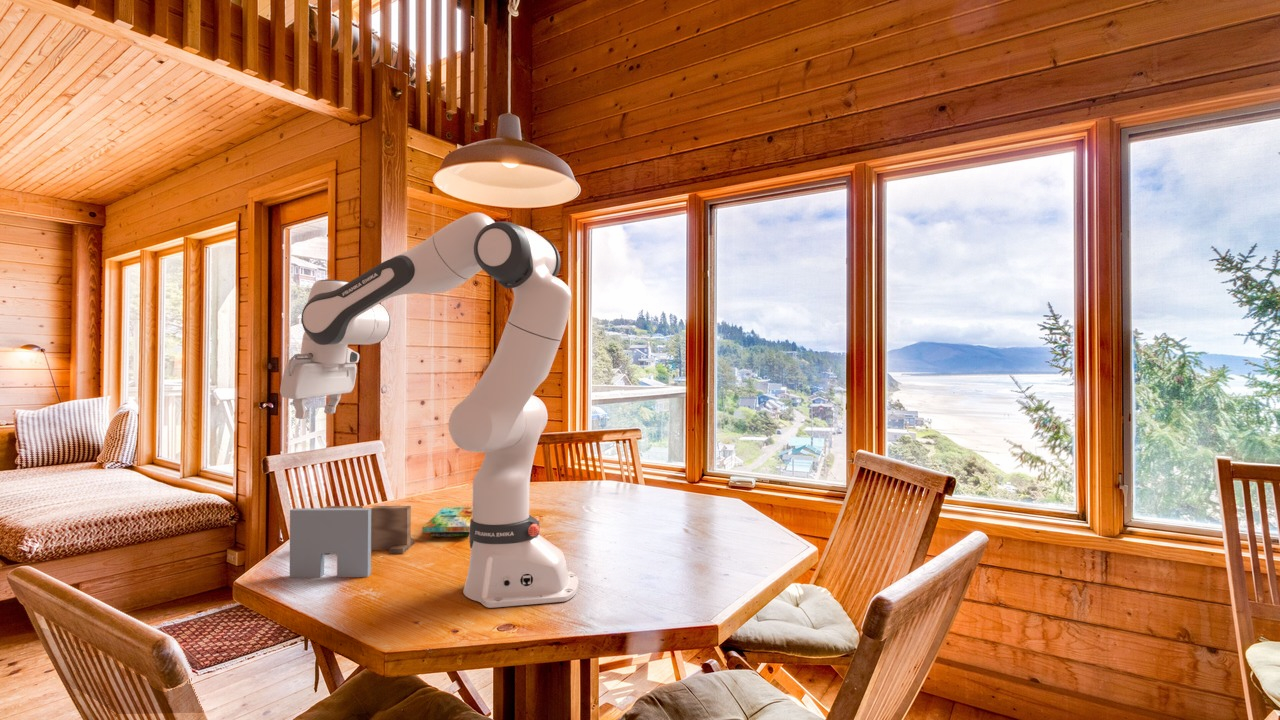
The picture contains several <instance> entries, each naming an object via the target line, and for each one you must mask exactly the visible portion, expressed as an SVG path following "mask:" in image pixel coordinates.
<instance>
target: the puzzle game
mask: <svg viewBox="0 0 1280 720" xmlns="http://www.w3.org/2000/svg"><path fill="white" fill-rule="evenodd" d="M472 513H473V506H463V507H462V506H450V507H449V506H444V507H442V508H441V509H440V510H439V511H438V512H437V513H436V514H435V515H434V516H433V517H432V518H431V519H430V520H428V521H427V523H426V524H424V525H423V526H422V532H423V533H428V534H429V535H430V536H431V537H432V536H437V537H469V527H470V520H471V519H472Z"/></svg>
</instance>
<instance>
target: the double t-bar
mask: <svg viewBox="0 0 1280 720" xmlns="http://www.w3.org/2000/svg"><path fill="white" fill-rule="evenodd" d="M323 508H364V506H363V505H326V506H324V507H323ZM370 508H371V551H389V555H403V554H404V553H406V552H407V551H408V550H409V549H410V548H411V547H413V546H414V545H415V538H412V537H411V536H412V535H411V532H412V531H411V526H412V524H411V523H412V522H411V521H412V518H411V517H412V515H411V513H412V512H411V511H412V510H411V509H412V506H411V505H374V506H372V507H370ZM406 550H407V551H406ZM324 555H330V554H329V553H324Z"/></svg>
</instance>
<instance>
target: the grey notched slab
mask: <svg viewBox="0 0 1280 720" xmlns="http://www.w3.org/2000/svg"><path fill="white" fill-rule="evenodd" d="M371 508H372V507H368V508H367V507H363V508H324V507H321V508H320V507H319V508H316V507H315V508H314V507H313V508H310V507H309V508H305V507H304V508H302V507H301V508H299V507H298V508H296V507H295V508H292V509H290V510H289V578H290V579H292V578H297V579H298V578H300V579H301V578H322V577H324V575H325V554H324V553H330V554H336V556H337V557H336V559H337V561H336V577H337V578H368V577H370V576H371V575H372V550H371Z"/></svg>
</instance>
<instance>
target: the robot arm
mask: <svg viewBox="0 0 1280 720" xmlns="http://www.w3.org/2000/svg"><path fill="white" fill-rule="evenodd" d="M561 261H562V260H561V255H560V252H559V251H558V248H557V247H556V246H555V244H554V243H552V242H551V240H549V239H548V238H547V237H544V236H541V235H540V234H538V233H537V232H536V231H535V230H532V229H531V228H528V227H526V226H525V227H524V226H522V225H518V224H516V223H513V222H509V221H495V220H494V219H492V218H491V217H490V216H489V215H487V214H485V213H483V212H478V211H476V212H471V213H468V214H466V215H464V216H462V217H459V218H458V219H455V220H454V221H452V222H450V223H448V224H447V225H445V226H444V227H442V228H440V229H439V230H438V231H436V232H435V233H434V234H432V235H430V237H428V238H426V239H425V240H424V241H422V242H420V243H418V244H417V245H415V246H414V247H412V248H410V249H409V250H407V251H404V252H403V253H400V254H398V255H396V256H393V257H392V258H389V259H386V260H384V261H383V262H381V263H380V264H377V265H376V266H373V267H372V268H371V269H369V270H367V271H365V272H364V273H362V274H361V275H360V274H359V276H357V277H355V278H353V279H352V280H350V281H346V280H342V279H320V280H318V281H316V282H314V283H313V285H312V287H311V288H310V291H309V295H308V298H307V299H308V300H307V303H306V304H305V305H304V307H303V310H302V313H301V325H302V328H303V330H304V332H303V336H302V339H301V340H302V341H301V348H300V353H294V354H293V356H292V357H291V358H289V359H288V362H287V364H286V366H285V368H284V371H283V374H282V379H281V382H280V388H279V393H280V395H281V397H282V398H285V399H288V400H289V399H290V400H292V404H293V407H294V410H295V415H294V416H295V417H294V418H296V419H299V420H303V419H307V418H308V414H309V409H306V403H307V402H308V401H307V400H308V399H310V398H316V397H317V398H318V397H325V396H328V398H329V400H328V402H327V405H326V404H325V405H324V410H323V411H324V414H325V415H326V414H328V415H332V414H335V413H336V409H337V406H338V404H339V402H340V400H341V398H342V394H350V393H352V392H353V390H354V387H355V384H356V378H357V371H358V367H357V364H356V363H359V362H360V361H359V360H360V354H359V352H356V351H355V350H353V349H351V348H350V347H348V346H349V345H362V346H364V345H374V344H379V343H381V342H383V341H384V339H386V337H387V335H388V333H390V327H391V317H390V314H389V311H388V310H387V308H386V307H385V306H384V305H383V304H382V303H383V302H384V301H386V300H388V299H390V298H393V297H398V296H402V295H411V294H442V293H446V292H448V291H450V290H453V289H455V288H458V287H459V286H462V285H463V284H464V283H466V282H467V281H468V280H470V279H471V278H473V277H474V276H475V275H477V274H478V273H480V272H481V271H484V273H486V274H488V276H489V277H491V278H492V279H493V280H494V281H496V282H497V283H499V285H501V286H502V287H503V288H505V289H506V290H507V289H508V290H510V289H511V291H512V292H513V296H514V297H513V304H512V307H511V310H510V312H509V315H508V318H507V321H506V324H505V326H504V329H503V332H502V334H501V338H500V340H499V342H498V346H497V347H496V349H495V350H496V351H495V353H494V355H493V357H492V359H491V361H490V362H489V365H488V366H487V368H486V370H485V371H484V373H483V374H482V375H481V377H480V379H479V380H478V382H477V383H476V385H475V386H474V387H473V389H472V390H471V391H470V393H469V394H468V395H467V396H466V397H464V399H463V400H462V401H460V402H459V403H458V404H457V405H456V406H455V407H454V408H453V410H452V411H451V413H450V416H449V418H448V430H449V435H450V437H451V439H452V441H453V442H454V444H455V445H456V446H457V447H458V448H460V449H462V450H464V451H467V452H471V453H472V452H473V453H484V457H483V460H482V462H481V465H480V467H479V468H478V470H477V472H476V473H475V475H474V478H473V481H472V507H473V513H472V519H471V520H470V527H469V536H468V538H469V539H468V540H469V548H470V555H469V556H470V557H469V558H470V559H469V565H468V570H467V576H466V578H465V579H466V580H465V583H464V587H463V590H462V592H463V595H464V596H465V597H466V598H468V599H469V600H473V601H475V602H479V603H481V604H482V605H483V606H484V607H485V608H490V609H491V608H492V609H493V608H502V607H504V608H505V607H515V606H516V607H517V606H525V605H527V606H529V605H538V604H551V603H561V602H568V601H570V600H571V599H572V598H573V597H575V595H576V594H577V592H578V590H579V584H580V583H579V578H578V576H577V574H576V573H574V572H573V571H570V570H568V565H567V561H566V557H565V554H564V553H563V551H562V550H561V549H560V548H558V547H557V546H556V545H554V544H552V543H551V542H550V541H549V540H547V539H546V538H544V536H542V535H540V518H539V517H538V516H537V518H535V517H534V516H533V515H531V514H530V493H531V492H530V489H531V488H530V487H531V486H530V485H531V474H532V468H533V463H534V461H535V455H536V451H537V447H538V443H539V441H540V437H541V435H542V434H543V432H544V430H545V429H546V426H547V424H548V420H549V419H548V417H549V416H548V410H547V407H546V405H545V403H544V402H543V400H542V399H541V398H539V397H537V396H536V395H534V393H535V391H537V389H538V387H539V386H540V385H541V384H542V383H543V382H544V381H546V379H547V377H548V376H549V374H550V372H551V368H552V365H553V363H554V360H555V358H556V356H557V352H558V350H559V348H560V345H561V342H562V338H563V335H564V333H565V330H566V326H567V323H568V319H569V315H570V310H571V305H572V297H573V296H572V291H571V289H570V288H569V286H568V284H566V283H565V282H564V281H563V280H562V279H561V278H559V277H557V276H558V275H559V272H560V270H561V265H562V263H561Z"/></svg>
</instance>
